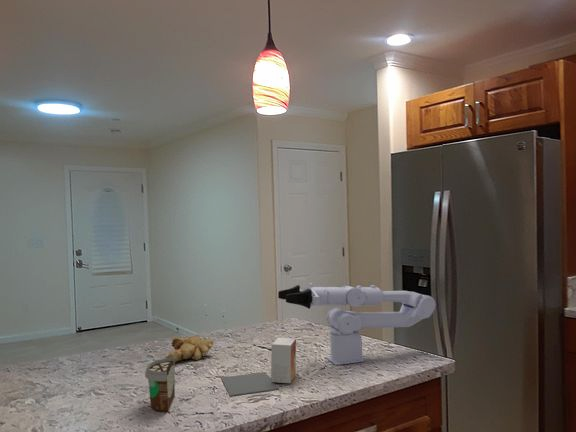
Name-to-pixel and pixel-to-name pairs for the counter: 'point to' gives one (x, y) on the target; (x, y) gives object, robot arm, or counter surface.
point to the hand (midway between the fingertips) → (282, 296)
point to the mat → (248, 384)
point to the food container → (161, 384)
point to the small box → (283, 360)
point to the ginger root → (189, 348)
